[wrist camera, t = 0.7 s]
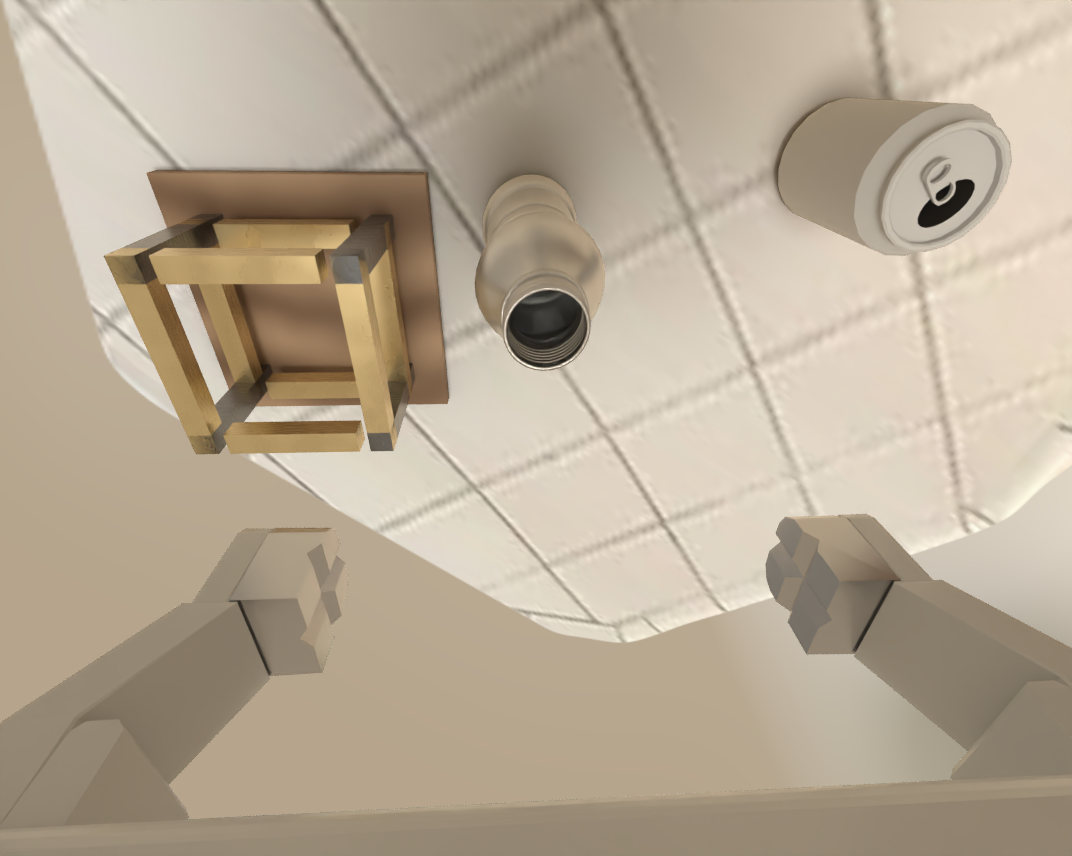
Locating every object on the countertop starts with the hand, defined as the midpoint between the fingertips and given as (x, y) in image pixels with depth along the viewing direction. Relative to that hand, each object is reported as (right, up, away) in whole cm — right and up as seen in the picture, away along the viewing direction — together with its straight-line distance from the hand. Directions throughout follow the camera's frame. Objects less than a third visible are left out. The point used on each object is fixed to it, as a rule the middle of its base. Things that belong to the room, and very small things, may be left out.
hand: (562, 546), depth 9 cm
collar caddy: (-17, +12, +29) cm, 36 cm away
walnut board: (-17, +12, +30) cm, 37 cm away
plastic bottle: (-1, +18, +28) cm, 33 cm away
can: (+20, +21, +26) cm, 39 cm away
